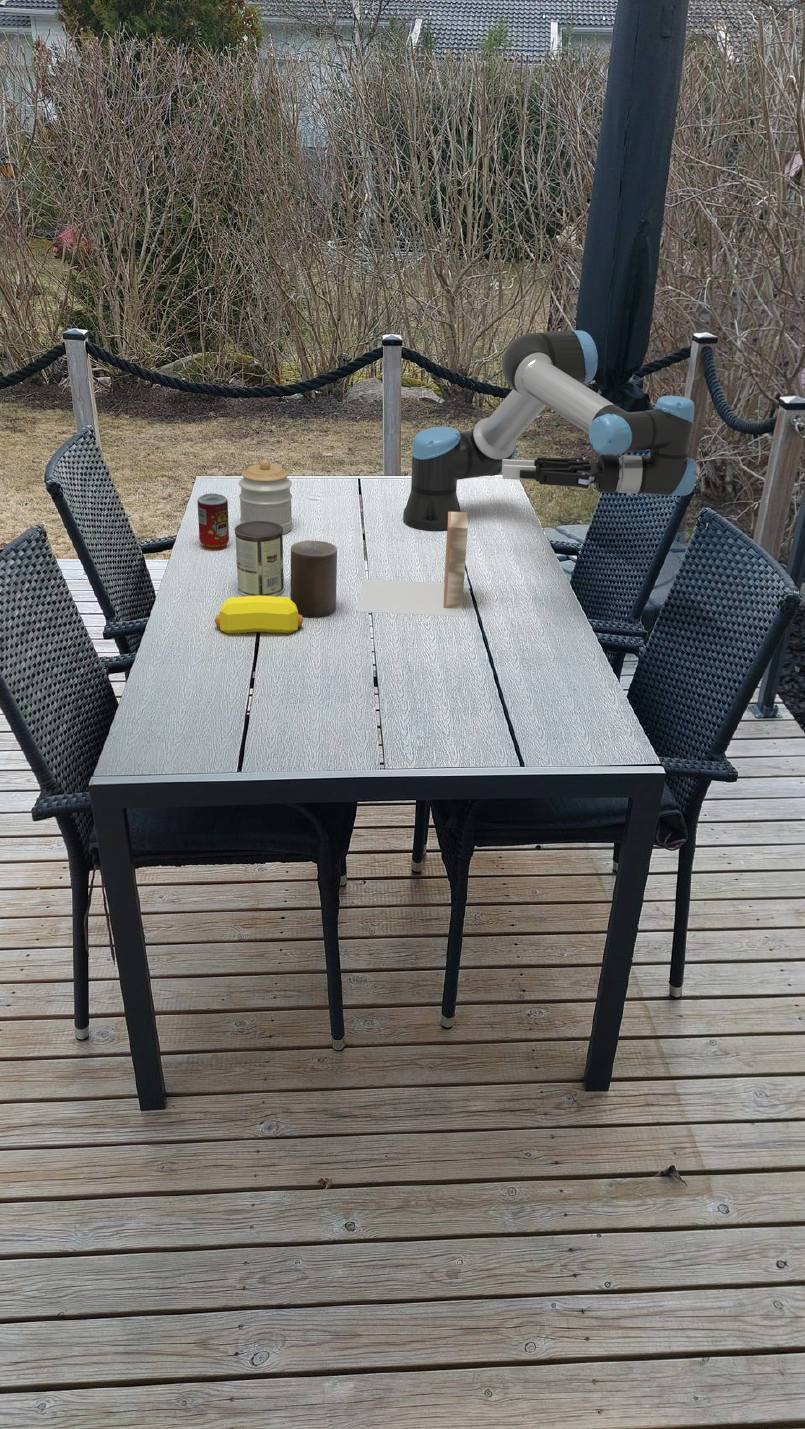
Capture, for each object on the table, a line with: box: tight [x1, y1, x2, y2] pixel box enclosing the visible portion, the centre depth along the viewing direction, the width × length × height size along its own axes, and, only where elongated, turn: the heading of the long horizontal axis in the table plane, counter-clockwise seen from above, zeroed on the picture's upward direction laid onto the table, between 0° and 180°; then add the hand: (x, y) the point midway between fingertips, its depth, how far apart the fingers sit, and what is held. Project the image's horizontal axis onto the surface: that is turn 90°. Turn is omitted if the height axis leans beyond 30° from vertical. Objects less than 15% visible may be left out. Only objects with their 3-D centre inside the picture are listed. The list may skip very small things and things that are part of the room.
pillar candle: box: [289, 539, 338, 619], centre depth 232 cm, size 10×10×15 cm
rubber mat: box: [357, 579, 463, 618], centre depth 241 cm, size 22×18×1 cm
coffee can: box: [234, 521, 285, 597], centre depth 240 cm, size 10×10×14 cm
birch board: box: [443, 511, 469, 610], centre depth 236 cm, size 4×10×18 cm, turn 178°
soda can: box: [196, 493, 230, 551], centre depth 263 cm, size 7×7×12 cm
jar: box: [238, 458, 293, 535], centre depth 274 cm, size 13×13×18 cm
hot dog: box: [213, 595, 304, 634], centre depth 224 cm, size 18×7×8 cm
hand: (502, 469), depth 226 cm, fingers open, 3 cm apart
